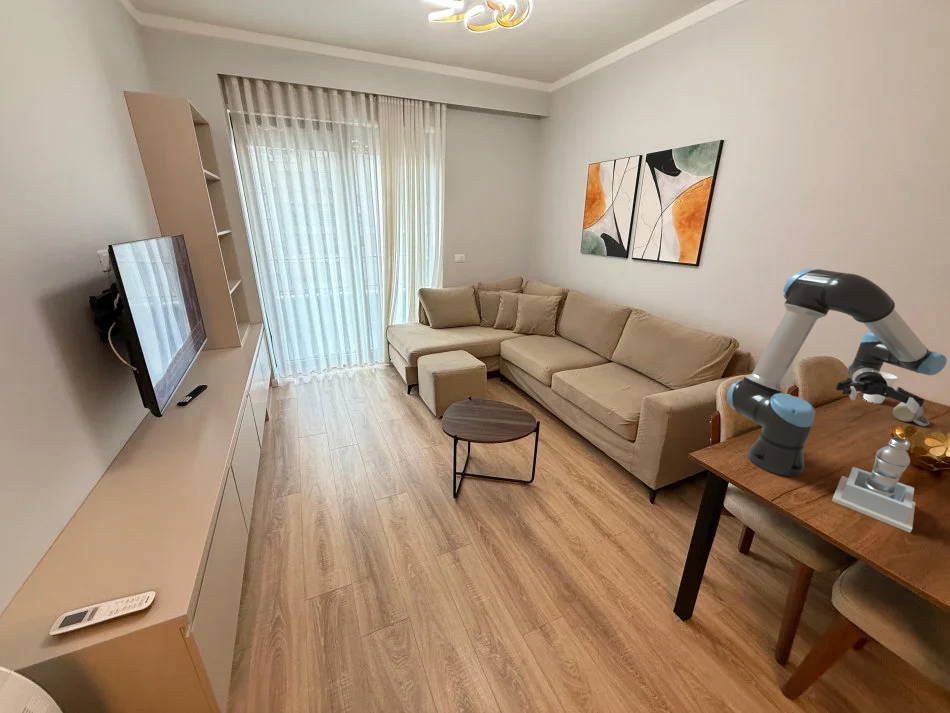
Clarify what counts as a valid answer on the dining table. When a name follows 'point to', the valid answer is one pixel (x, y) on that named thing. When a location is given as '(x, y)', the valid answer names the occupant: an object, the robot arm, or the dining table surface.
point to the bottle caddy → (876, 500)
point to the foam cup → (878, 398)
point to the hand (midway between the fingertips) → (884, 402)
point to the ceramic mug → (909, 414)
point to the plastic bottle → (888, 467)
